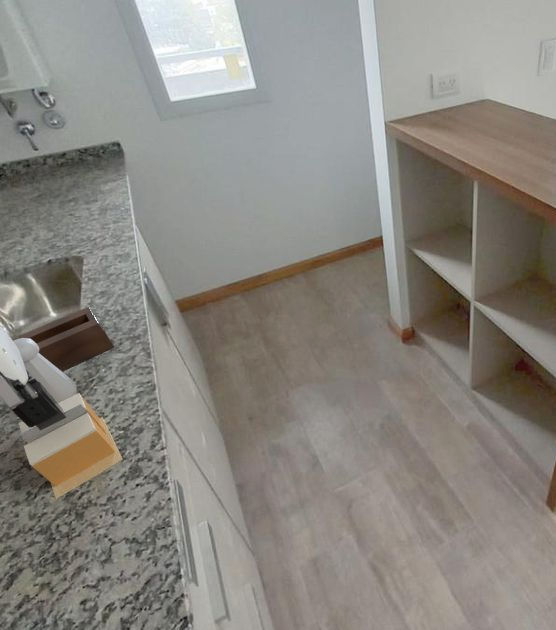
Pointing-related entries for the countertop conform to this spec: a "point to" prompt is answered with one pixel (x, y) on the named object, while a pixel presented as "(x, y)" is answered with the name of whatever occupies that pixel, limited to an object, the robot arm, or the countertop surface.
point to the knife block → (70, 339)
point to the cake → (94, 468)
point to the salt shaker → (45, 371)
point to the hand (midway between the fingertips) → (41, 412)
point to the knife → (56, 420)
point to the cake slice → (69, 449)
